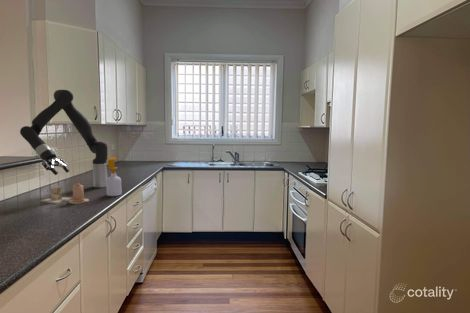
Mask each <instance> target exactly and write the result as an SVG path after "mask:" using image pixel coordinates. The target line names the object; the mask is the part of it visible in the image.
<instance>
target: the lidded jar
mask: <svg viewBox="0 0 470 313" xmlns="http://www.w3.org/2000/svg"><path fill="white" fill-rule="evenodd" d="M84 191H85V190H84V185H83V184H81V183H75V184H73V185H72V197H73V199H72V200H73V202H81V201H84V200H85V193H84Z"/></svg>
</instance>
